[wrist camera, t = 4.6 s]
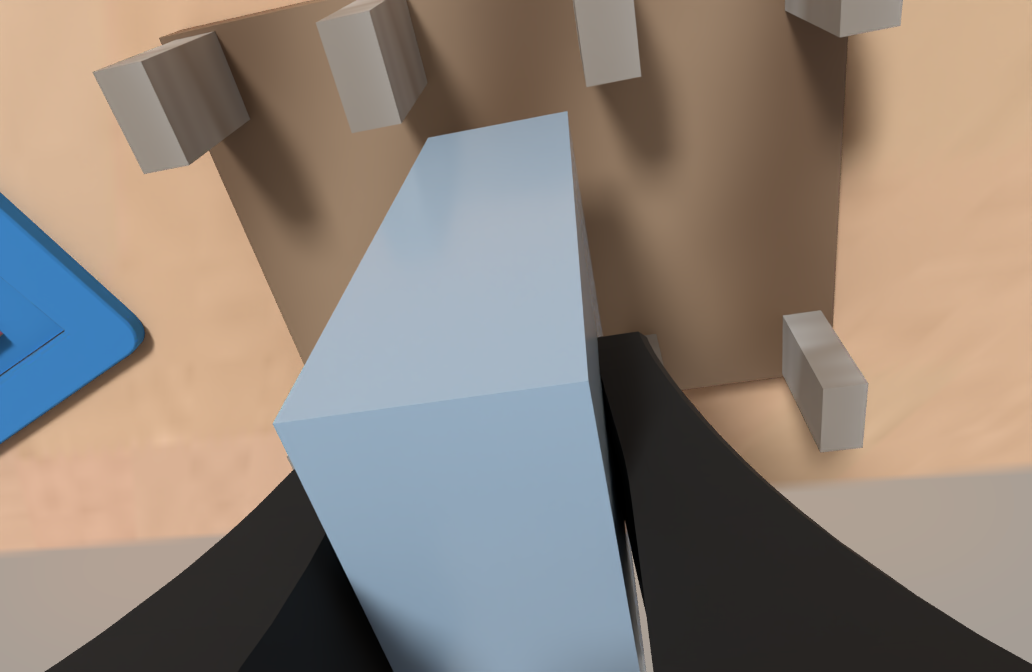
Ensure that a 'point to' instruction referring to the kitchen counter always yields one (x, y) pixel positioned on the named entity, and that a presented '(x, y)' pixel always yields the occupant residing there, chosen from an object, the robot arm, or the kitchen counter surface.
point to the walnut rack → (596, 143)
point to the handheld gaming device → (51, 323)
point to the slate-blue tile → (473, 420)
